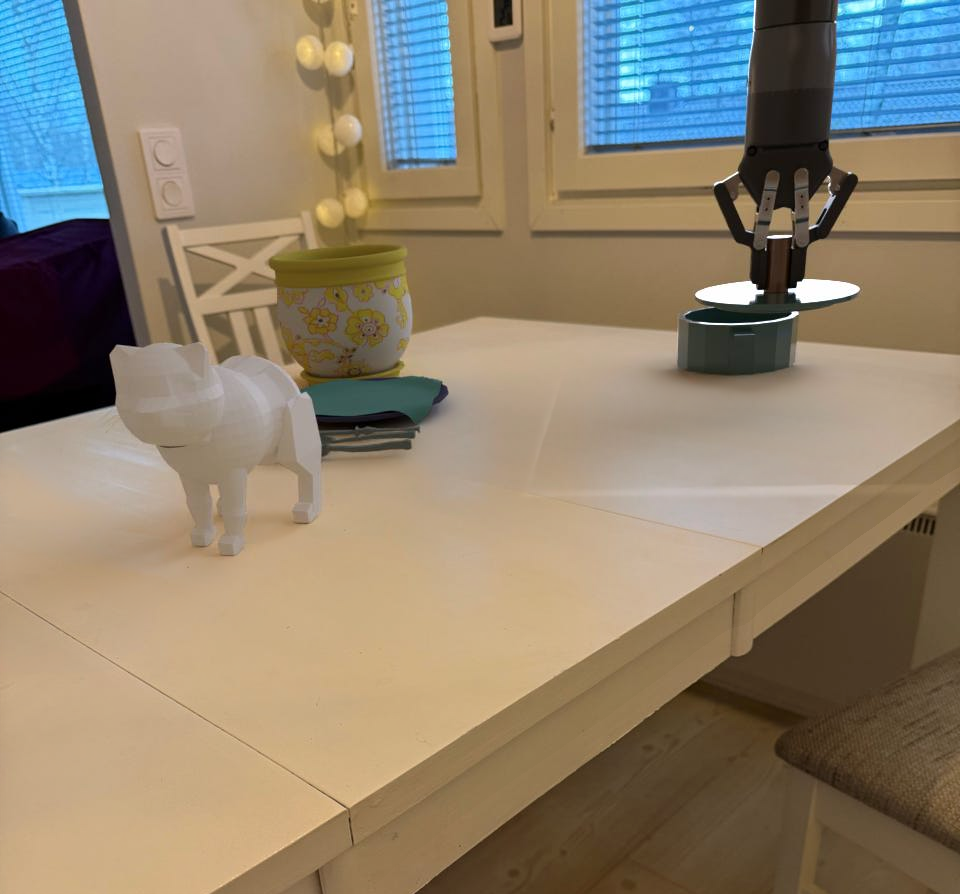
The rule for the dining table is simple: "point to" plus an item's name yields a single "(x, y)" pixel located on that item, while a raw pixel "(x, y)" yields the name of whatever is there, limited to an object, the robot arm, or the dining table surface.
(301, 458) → the cat figurine
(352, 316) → the flowerpot
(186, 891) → the dining table surface
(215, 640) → the dining table surface
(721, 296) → the cover
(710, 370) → the tin
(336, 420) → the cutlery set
